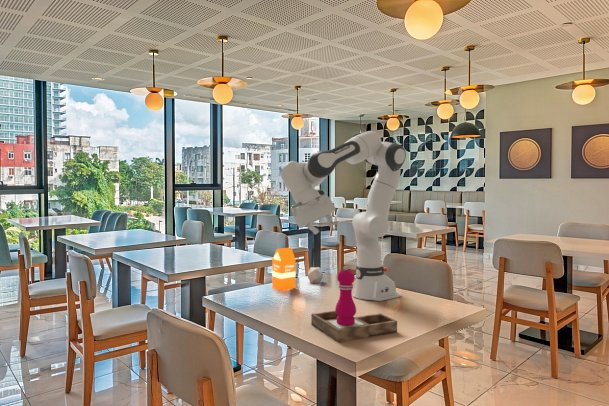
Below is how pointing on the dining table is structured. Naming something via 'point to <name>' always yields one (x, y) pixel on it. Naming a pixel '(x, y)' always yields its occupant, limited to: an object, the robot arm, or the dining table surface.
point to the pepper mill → (345, 298)
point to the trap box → (353, 326)
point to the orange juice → (283, 269)
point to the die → (315, 275)
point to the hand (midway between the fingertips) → (324, 229)
